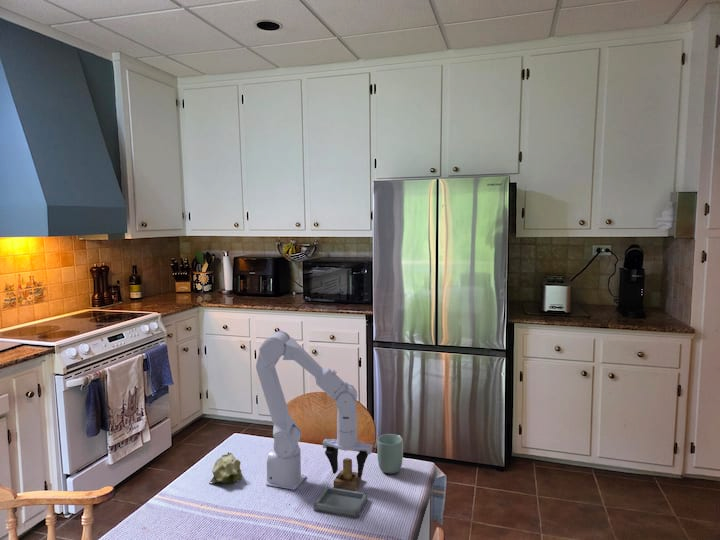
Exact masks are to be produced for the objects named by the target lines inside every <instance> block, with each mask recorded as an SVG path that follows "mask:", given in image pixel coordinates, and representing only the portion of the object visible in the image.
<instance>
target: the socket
mask: <svg viewBox="0 0 720 540" xmlns="http://www.w3.org/2000/svg"><path fill="white" fill-rule="evenodd" d="M332 481H333V488H337V489H343V490H349V491H356V489H357V488H358V486H359V485H360V483H361V481H362V476H361V477H360V478H359V477H358V471H357V472H355V471H352V481H348V480H343V469H341V470H340V471H339V472H338V473H337V475H336V476H335V478H334V479H333V480H332Z"/></svg>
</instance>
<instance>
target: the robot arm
mask: <svg viewBox="0 0 720 540" xmlns="http://www.w3.org/2000/svg"><path fill="white" fill-rule="evenodd" d="M258 351H259V352H258V357H257V360H256V364H255V369H256V374H257V376H258V380H259V382H260V385H261V389H262V392H263V395H264V397H265V402H266V405H267V408H268V411H269V414H270V417H271V421H272V424H273V429H272V436H273V441H274V442H273V449H271V451H269V453H268V455H267V460H266V483H265V485H266V486H271V487H276V488H282V489H288V490H294V491H295V490H297V488H298V487H299V486H300V485H301V484H302V483H303V482H304V480H305V479H306V478H307V475H306V474H302V465H301V464H302V463H301V462H302V461H301V458H302V456H301V448H300V445H299V442H300V441H301V439H302V430H301V429H300V427H298V426H297V424H296V421H295V419H294V418H293V417H291V414H290V411H289V408H288V405H287V402H286V398H285V395H284V391H283V388H282V385H281V383H280V379H279V375H278V373H277V369H276V365H277V363H278V362H279V360H280V358H281V357H282V356H283V357H282V360H283V361H295V363H297V364H298V365H299V366H300V367H302V368H303V369H305V371H306V372H308V373H309V374H311V375H312V376H313V377H314V378H315V384H316V385H317V386H318V387H319V388H320V389H321V390H322V391H324V393H325V394H327V395H328V396H329V397H330V398H331V399H332V400H334V403H335V406H336V408H337V413H336V430H337V431H336V432H337V433H336V434H337V435H336V437H337V438H331V439H329V438H325V439H323V441H322V448H323V449H326V450H325V451H324V454H325V456H326V458H327V459H328V461H329V464H330V466H331V470H332V474H334V475H336V473H338V471H339V469H338V468H339V464H338V455H339V450H341V451H348V452H349V451H351V452H352V451H353V452H358V453H357V454H356V462H357V473H358V477H359V478H360V477H361V478H362V477H363V473H364V472H363V471H364V467H365V464H366V461H367V458H368V456H369V455H371V454H372V452H373V444H369V443H365V442H362V441H359V440H358V418H357V417H358V415H357V414H358V413H357V398H358V391H357V389H356V388H355V386H354V385H353V384H349V383H348V382H347V381H346V382H345V381H344V380H343V379H342V378H340V377H339V376H338V375H337V371H336V370H335V369H333V370H331V369H330V368H324V367H322V366H321V365H320V363H318V362H317V361H316V359H314V358H313V357H312V356H311V355H310V354H309V352H307V351H306V350H305V349H304V348H303V346H301V345H300V344H299V343H298V342H297V340H296V339H295V338H294V337H291V336H290V334H288V333H287V332H286V331H283V330H277V331H275V332H273V333H272V335H270V337H268V338H267V339H265V340H264V341H263V343H262V344H261V345H260V347H259V348H258Z"/></svg>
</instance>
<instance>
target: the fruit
mask: <svg viewBox="0 0 720 540" xmlns="http://www.w3.org/2000/svg"><path fill="white" fill-rule="evenodd" d="M240 466H241V460H239V459H237V458H236V457H235V455H234V454H233V453H232V452H229V451H228V452H227V454H222V455H221V457H220V458H218V459H217V460H216V461H215V463H214V465H213V468H212V470H211V472H212V474H213V477H212V478H211V480H210V481H209V485H211V484H215V483H217V482H220V483H224V484H236V483H237V482H239V480H241V479H242V477H243V473H242V470H241V467H240ZM210 482H212V483H210Z"/></svg>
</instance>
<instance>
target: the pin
mask: <svg viewBox="0 0 720 540" xmlns="http://www.w3.org/2000/svg"><path fill="white" fill-rule="evenodd" d="M342 470H343V480H348V481H352V472H353V460H352V459H351V458H350V457H349V458H347V457H346V458H344V459H342Z"/></svg>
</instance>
